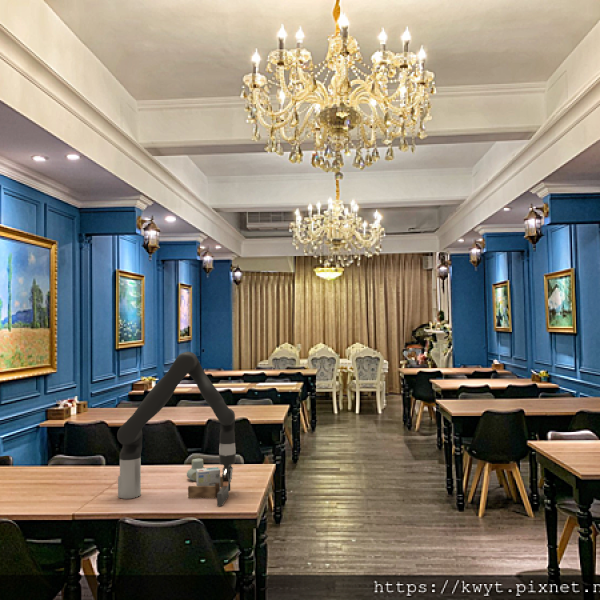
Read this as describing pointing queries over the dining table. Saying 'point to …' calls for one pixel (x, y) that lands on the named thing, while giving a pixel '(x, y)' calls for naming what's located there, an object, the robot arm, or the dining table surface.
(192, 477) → the air freshener
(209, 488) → the rails
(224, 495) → the bar
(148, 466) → the dining table surface
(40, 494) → the dining table surface
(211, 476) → the light bulb box
